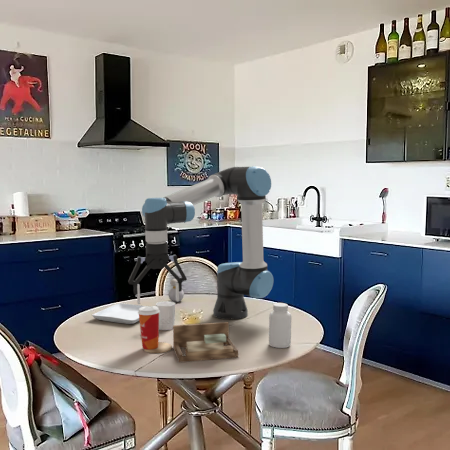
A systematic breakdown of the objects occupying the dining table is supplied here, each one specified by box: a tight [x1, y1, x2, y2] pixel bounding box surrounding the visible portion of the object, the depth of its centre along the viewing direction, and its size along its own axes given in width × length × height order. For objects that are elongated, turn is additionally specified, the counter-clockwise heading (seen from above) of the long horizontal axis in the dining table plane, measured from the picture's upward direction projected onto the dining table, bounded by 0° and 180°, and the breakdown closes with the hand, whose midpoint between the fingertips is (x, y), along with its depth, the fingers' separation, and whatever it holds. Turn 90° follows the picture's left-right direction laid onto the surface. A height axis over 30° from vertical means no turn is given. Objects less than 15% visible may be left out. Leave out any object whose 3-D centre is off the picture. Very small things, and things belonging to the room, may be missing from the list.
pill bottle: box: [268, 302, 292, 349], centre depth 186 cm, size 8×8×15 cm
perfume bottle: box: [168, 278, 185, 303], centre depth 249 cm, size 8×10×12 cm
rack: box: [172, 321, 239, 363], centre depth 179 cm, size 20×15×8 cm
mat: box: [143, 341, 173, 354], centre depth 183 cm, size 10×10×1 cm
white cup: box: [155, 300, 176, 331], centre depth 207 cm, size 8×8×10 cm
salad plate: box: [91, 302, 149, 325], centre depth 222 cm, size 21×21×3 cm
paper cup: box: [138, 305, 160, 350], centre depth 182 cm, size 8×8×14 cm
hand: (158, 302), depth 182 cm, fingers open, 13 cm apart
